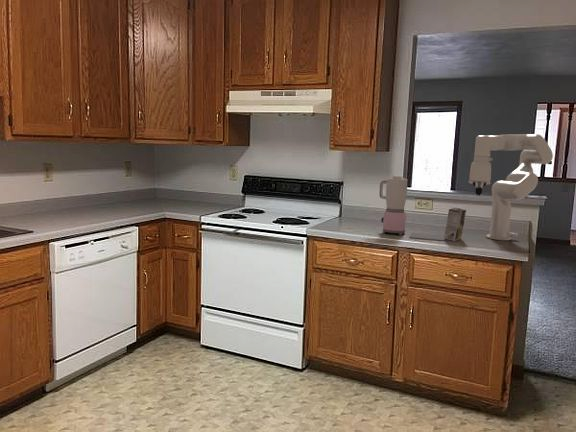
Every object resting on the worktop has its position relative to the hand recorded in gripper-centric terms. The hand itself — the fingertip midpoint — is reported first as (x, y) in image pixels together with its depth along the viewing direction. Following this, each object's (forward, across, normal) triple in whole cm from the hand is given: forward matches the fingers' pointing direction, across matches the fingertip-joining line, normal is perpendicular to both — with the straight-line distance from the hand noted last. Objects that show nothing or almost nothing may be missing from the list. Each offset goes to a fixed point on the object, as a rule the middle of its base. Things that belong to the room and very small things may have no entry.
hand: (478, 195), depth 255 cm
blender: (+25, +44, -3) cm, 50 cm away
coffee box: (+24, +11, 0) cm, 27 cm away
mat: (+25, +24, 0) cm, 34 cm away
